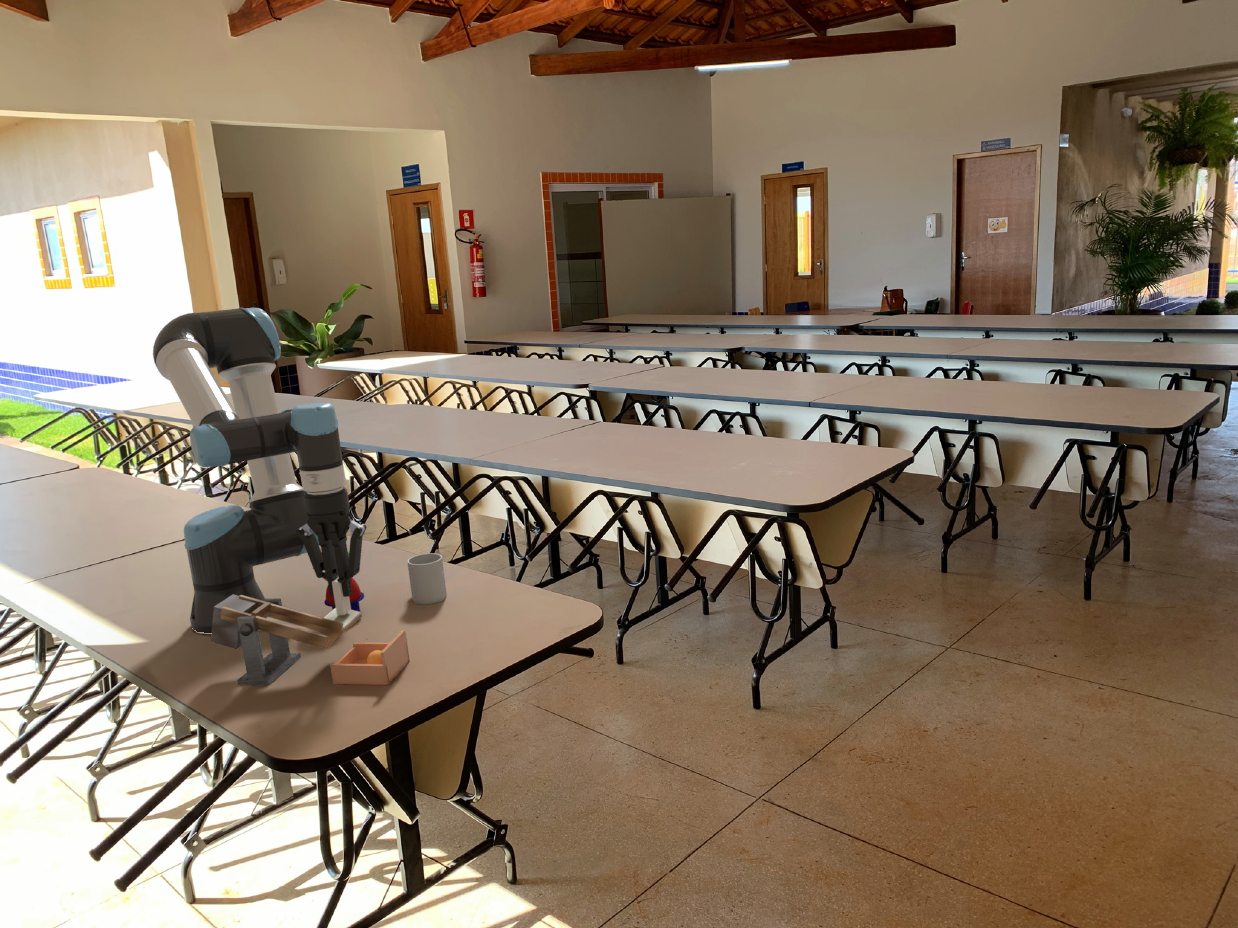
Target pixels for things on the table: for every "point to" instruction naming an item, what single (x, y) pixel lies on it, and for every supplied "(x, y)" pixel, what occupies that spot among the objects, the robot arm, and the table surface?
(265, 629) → the lever
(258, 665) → the bracket
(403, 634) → the pink open box
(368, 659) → the ball
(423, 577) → the cup
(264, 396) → the robot arm
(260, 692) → the table surface
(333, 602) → the toy
